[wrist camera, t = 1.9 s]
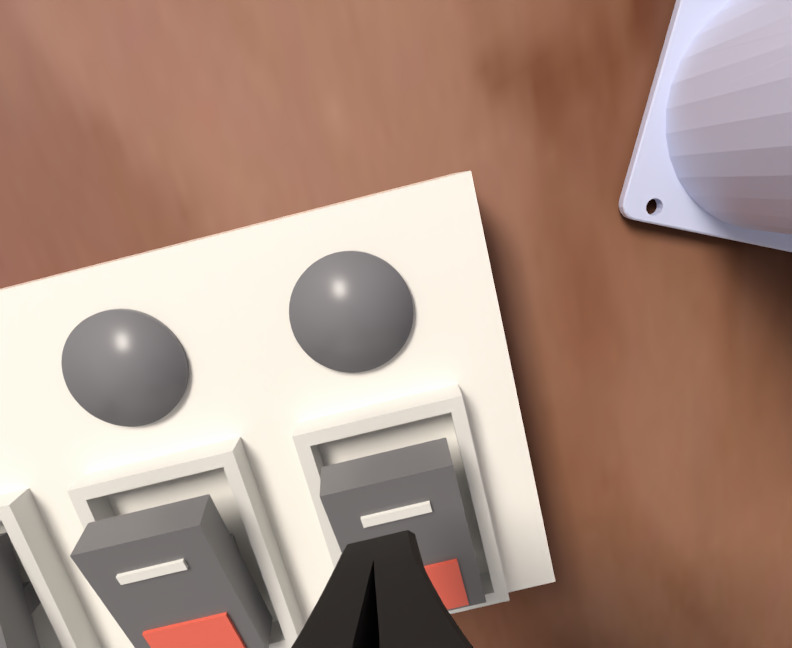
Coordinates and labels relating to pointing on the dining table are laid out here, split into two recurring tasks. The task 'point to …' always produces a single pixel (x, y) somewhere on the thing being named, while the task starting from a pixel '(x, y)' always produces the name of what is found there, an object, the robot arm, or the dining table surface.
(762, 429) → the dining table surface
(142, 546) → the rocker middle
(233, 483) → the rocker switch panel
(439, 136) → the dining table surface
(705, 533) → the dining table surface
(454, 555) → the rocker
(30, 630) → the rocker
